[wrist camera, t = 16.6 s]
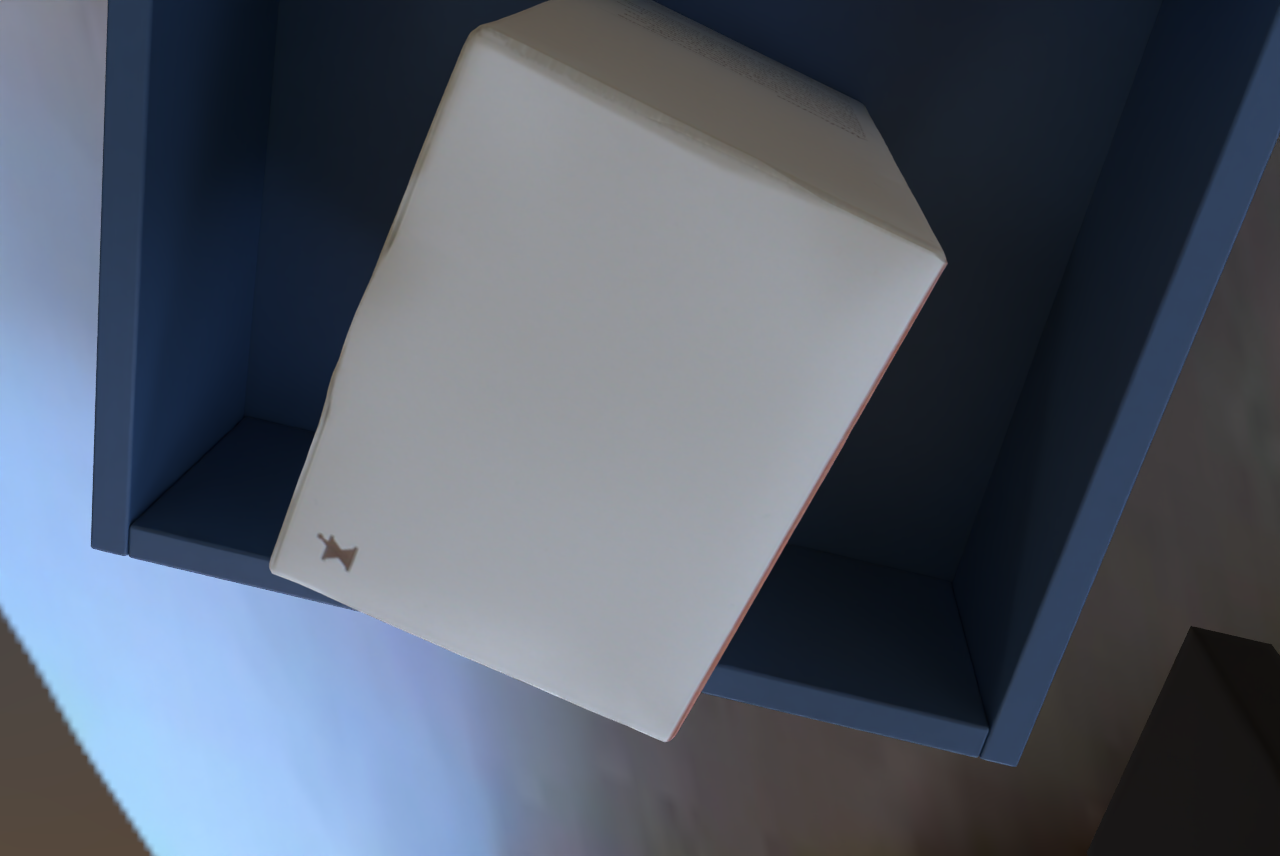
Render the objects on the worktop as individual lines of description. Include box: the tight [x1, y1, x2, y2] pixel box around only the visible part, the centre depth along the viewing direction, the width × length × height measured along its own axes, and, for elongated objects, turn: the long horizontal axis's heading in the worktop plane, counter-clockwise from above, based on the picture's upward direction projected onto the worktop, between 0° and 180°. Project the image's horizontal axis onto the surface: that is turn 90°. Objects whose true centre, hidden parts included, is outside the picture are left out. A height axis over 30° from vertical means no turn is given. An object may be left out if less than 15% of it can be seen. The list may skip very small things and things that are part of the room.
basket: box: [91, 0, 1280, 767], centre depth 25 cm, size 20×17×7 cm
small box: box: [269, 0, 948, 742], centre depth 21 cm, size 8×6×13 cm
